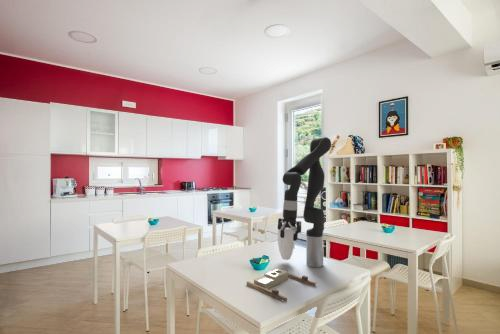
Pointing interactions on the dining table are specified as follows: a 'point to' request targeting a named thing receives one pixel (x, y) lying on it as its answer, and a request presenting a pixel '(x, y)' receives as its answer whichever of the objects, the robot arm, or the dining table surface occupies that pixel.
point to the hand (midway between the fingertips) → (288, 239)
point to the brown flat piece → (276, 292)
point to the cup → (286, 243)
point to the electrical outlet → (271, 278)
